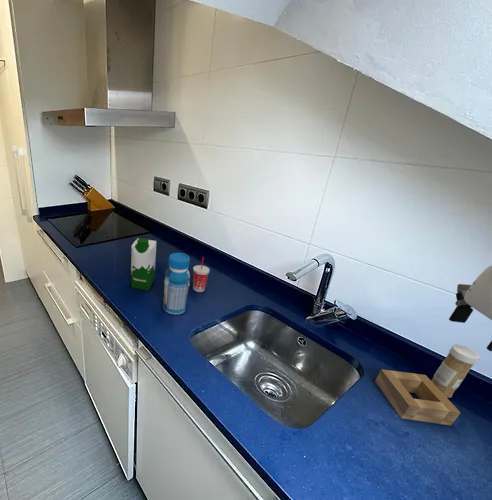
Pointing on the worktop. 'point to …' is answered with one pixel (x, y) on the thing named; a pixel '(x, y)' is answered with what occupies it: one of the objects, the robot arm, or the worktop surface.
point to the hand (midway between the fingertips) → (474, 335)
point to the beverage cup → (200, 277)
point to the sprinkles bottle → (454, 369)
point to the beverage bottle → (176, 283)
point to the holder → (430, 397)
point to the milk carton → (143, 263)
